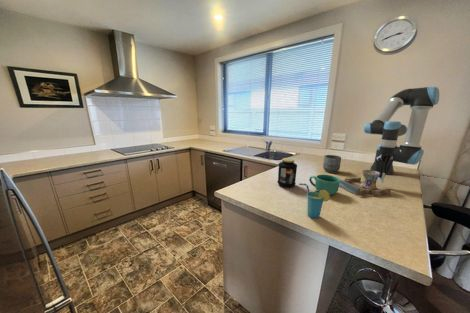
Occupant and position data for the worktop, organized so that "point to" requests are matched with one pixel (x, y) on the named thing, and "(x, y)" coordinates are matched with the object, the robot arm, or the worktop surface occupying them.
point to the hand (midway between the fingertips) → (380, 181)
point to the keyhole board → (361, 188)
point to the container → (287, 172)
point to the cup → (315, 202)
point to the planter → (331, 163)
